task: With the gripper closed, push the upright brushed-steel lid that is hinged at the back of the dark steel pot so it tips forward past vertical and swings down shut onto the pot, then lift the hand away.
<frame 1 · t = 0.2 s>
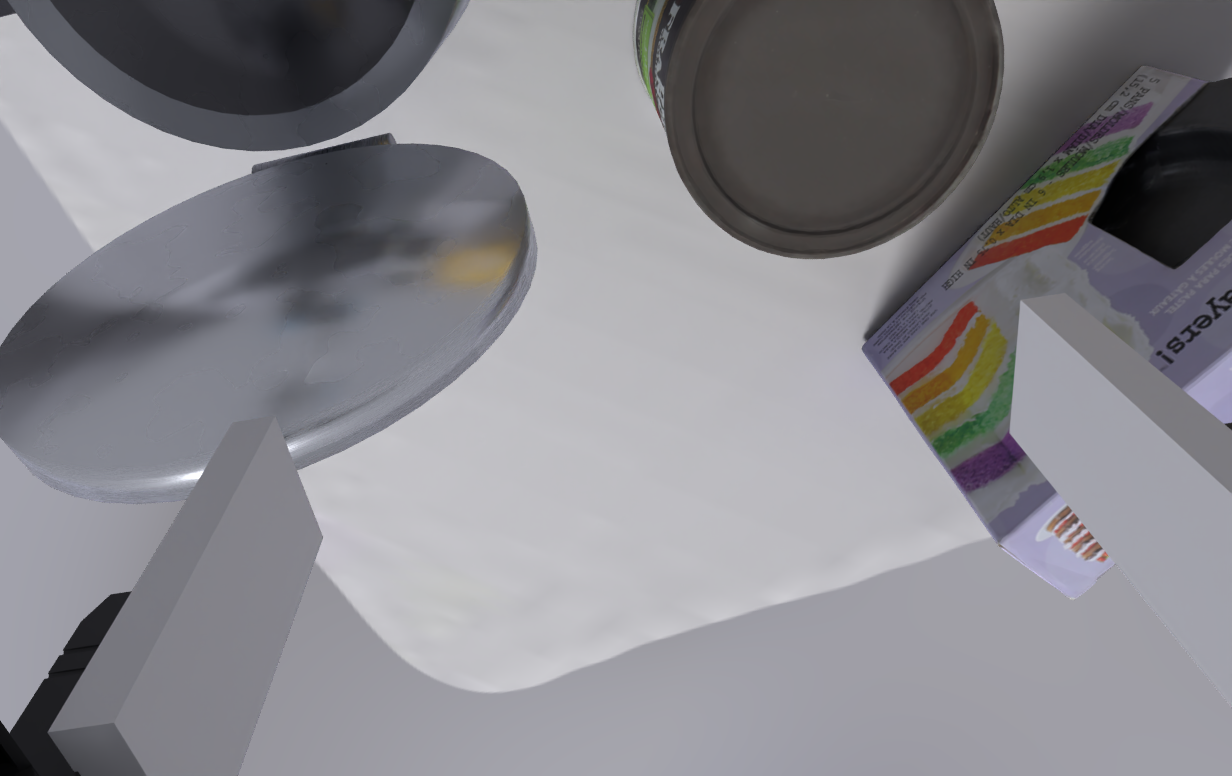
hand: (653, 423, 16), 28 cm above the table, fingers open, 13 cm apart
coffee can: (749, 32, 40), on the table
lid: (291, 323, 26), point 17 cm above the table, hinge at 100.0°
cake pan box: (1021, 226, 45), on the table
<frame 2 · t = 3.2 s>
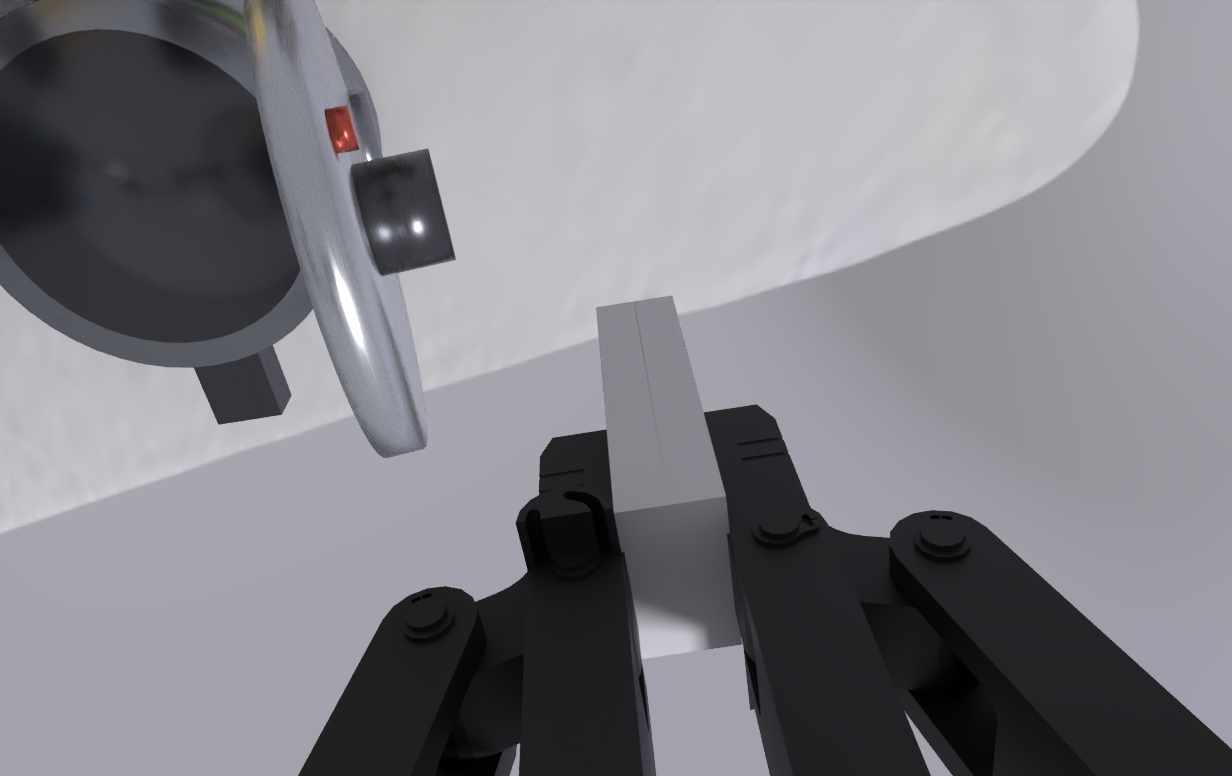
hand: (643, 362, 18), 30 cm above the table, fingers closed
pot: (225, 136, 44), on the table
lid: (386, 216, 29), point 17 cm above the table, hinge at 100.0°
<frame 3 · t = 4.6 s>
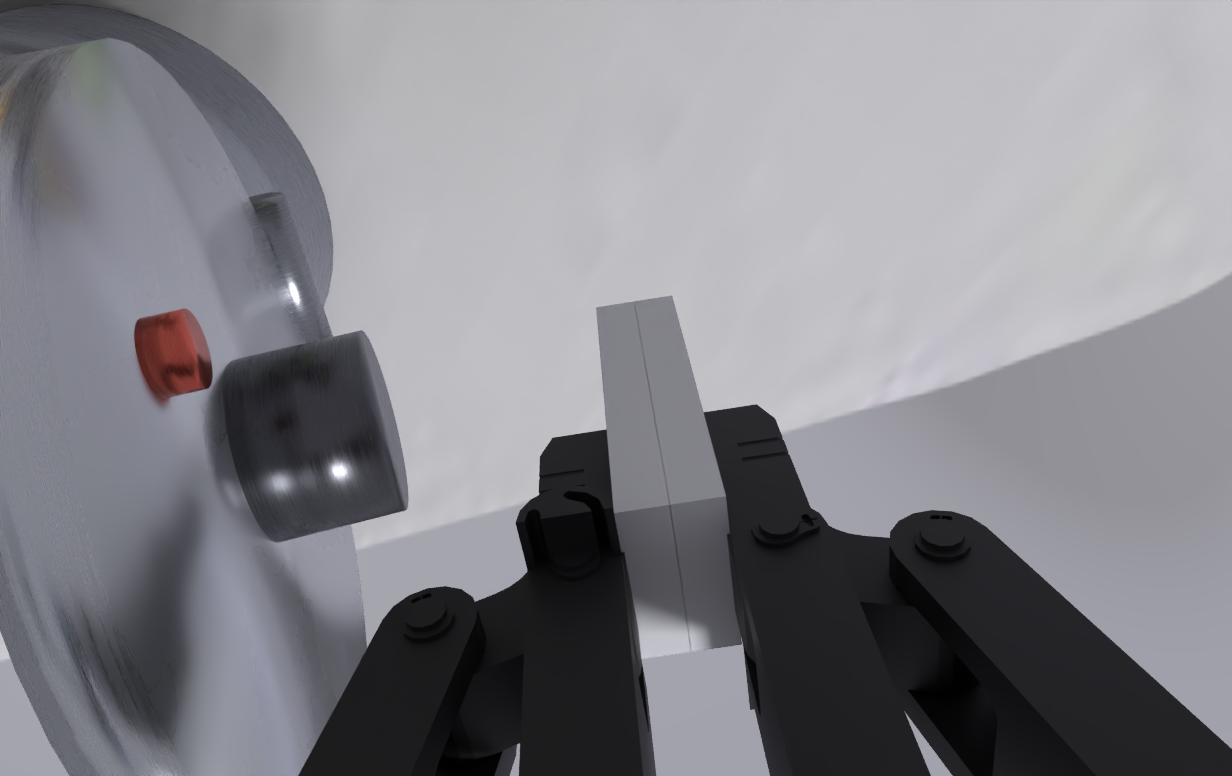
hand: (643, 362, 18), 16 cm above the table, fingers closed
pot: (121, 227, 33), on the table
lid: (291, 442, 17), point 17 cm above the table, hinge at 100.0°
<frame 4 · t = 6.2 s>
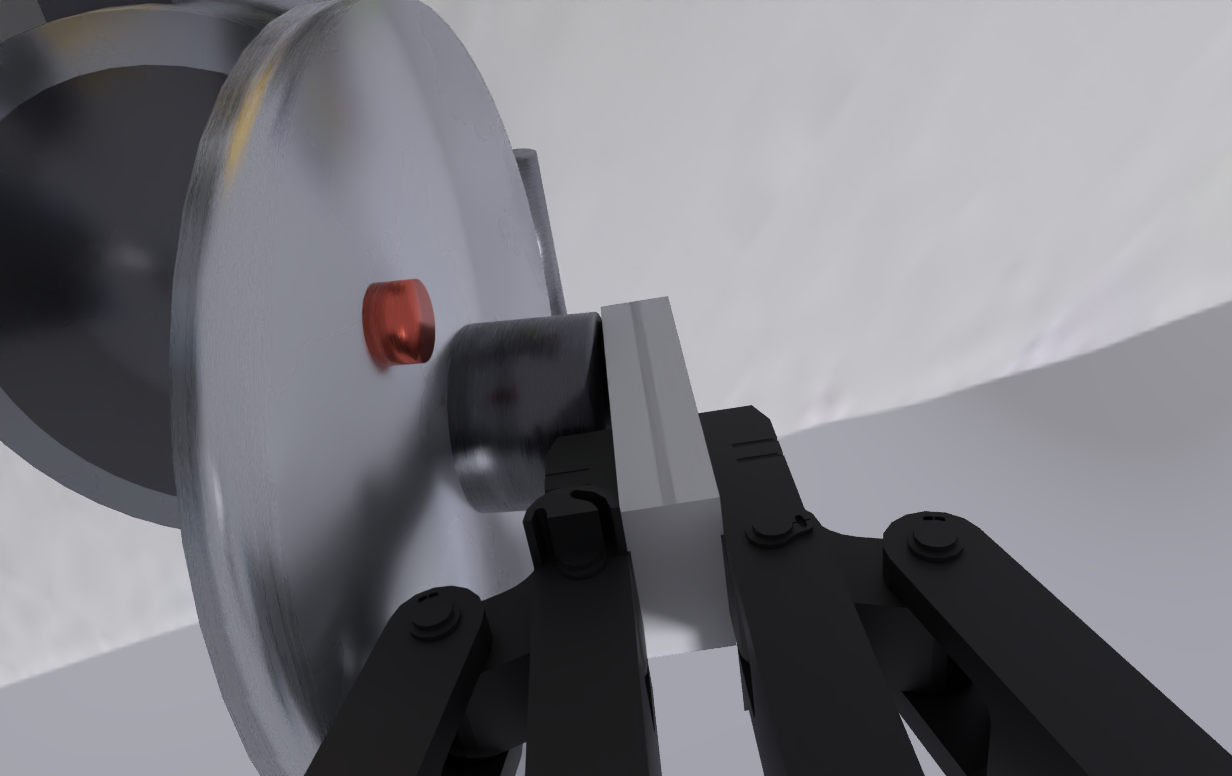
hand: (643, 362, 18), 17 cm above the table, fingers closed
pot: (295, 197, 33), on the table
lid: (510, 415, 17), point 18 cm above the table, hinge at 80.1°, touching gripper
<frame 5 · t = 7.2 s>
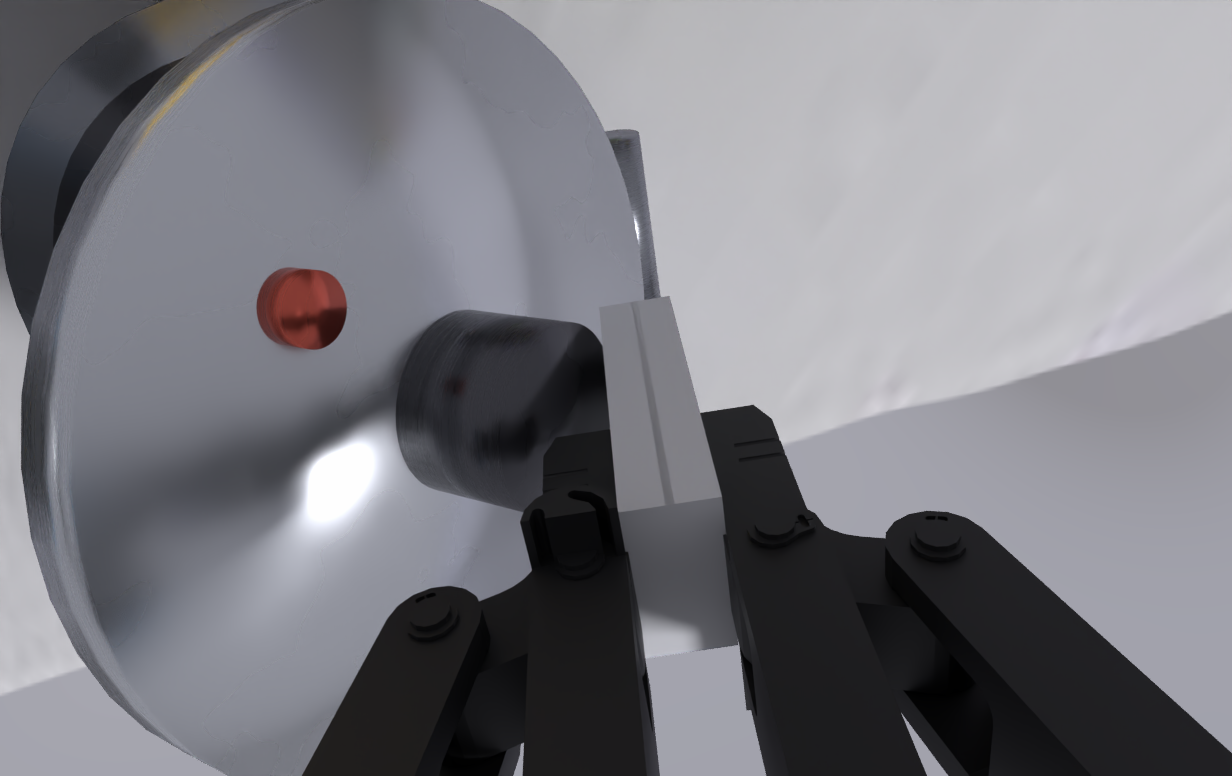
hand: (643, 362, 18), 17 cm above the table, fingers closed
pot: (369, 183, 33), on the table
lid: (484, 405, 17), point 18 cm above the table, hinge at 55.8°, touching gripper
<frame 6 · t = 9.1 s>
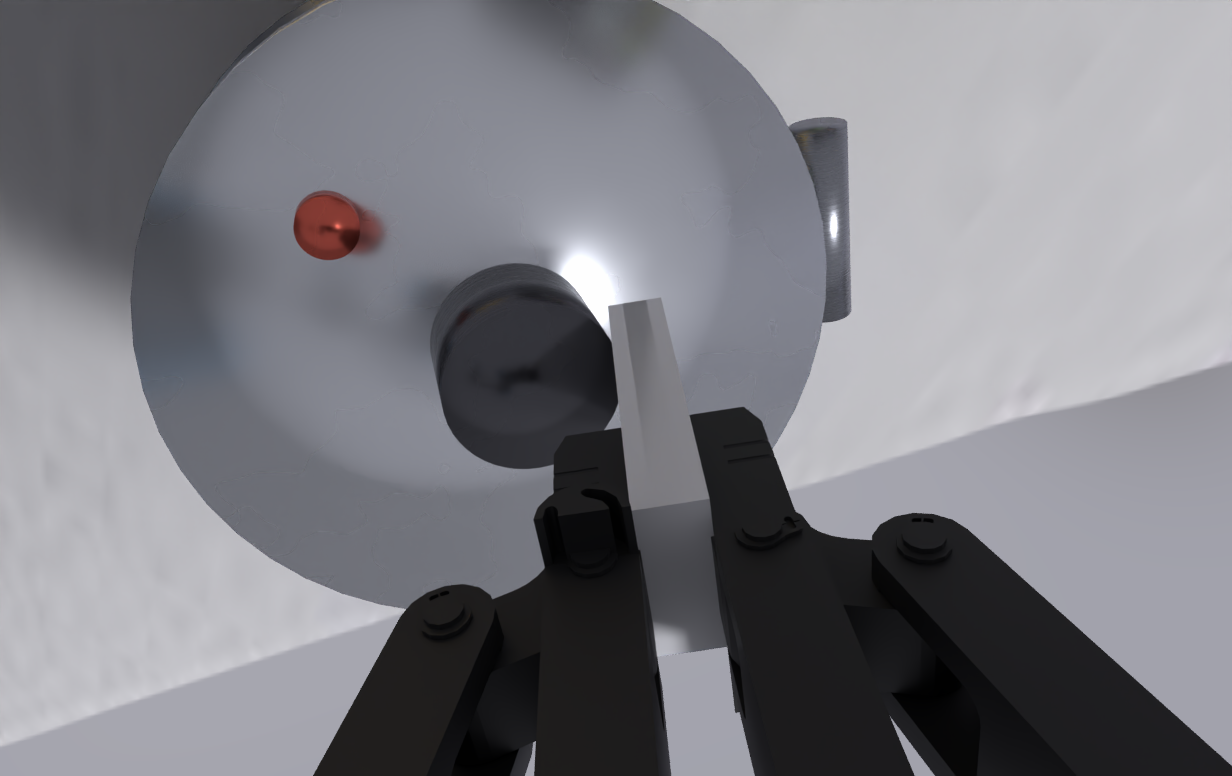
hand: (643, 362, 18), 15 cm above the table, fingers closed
pot: (500, 180, 31), on the table
lid: (518, 352, 19), point 13 cm above the table, hinge at 10.8°, touching gripper
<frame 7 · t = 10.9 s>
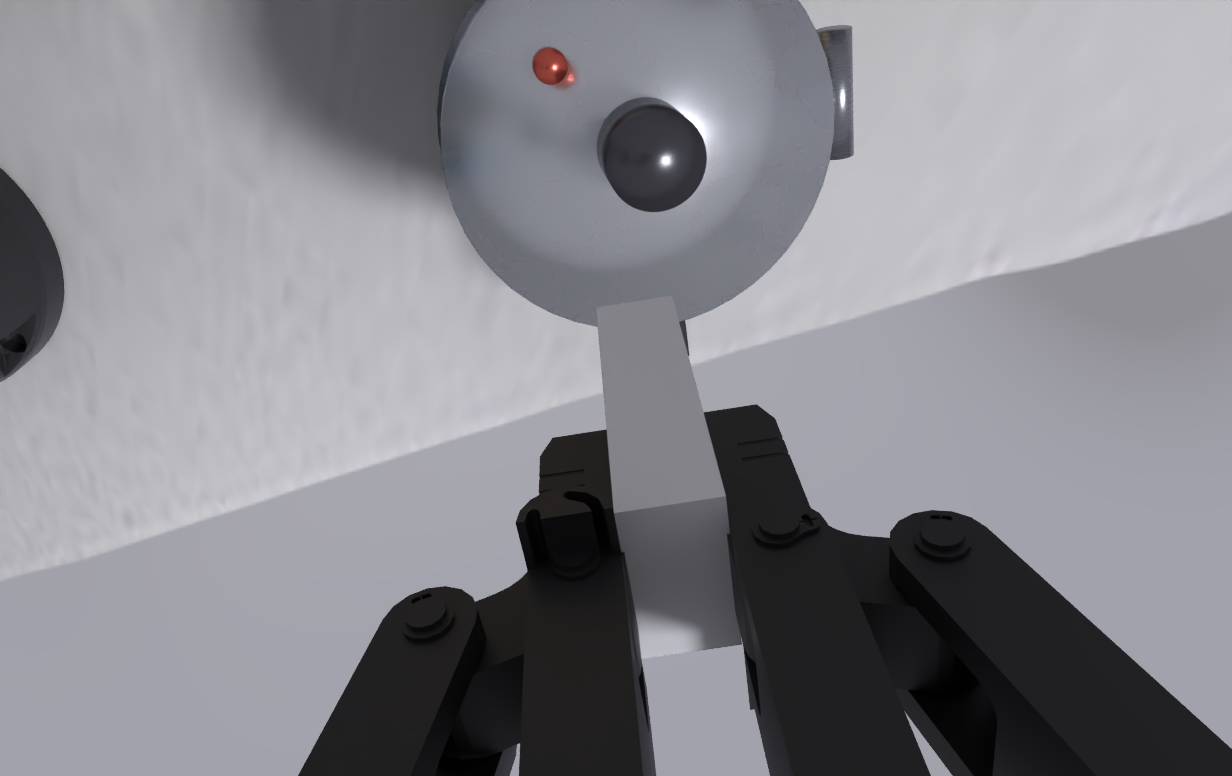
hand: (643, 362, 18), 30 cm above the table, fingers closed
pot: (617, 83, 45), on the table
lid: (647, 150, 33), point 13 cm above the table, hinge at 7.8°
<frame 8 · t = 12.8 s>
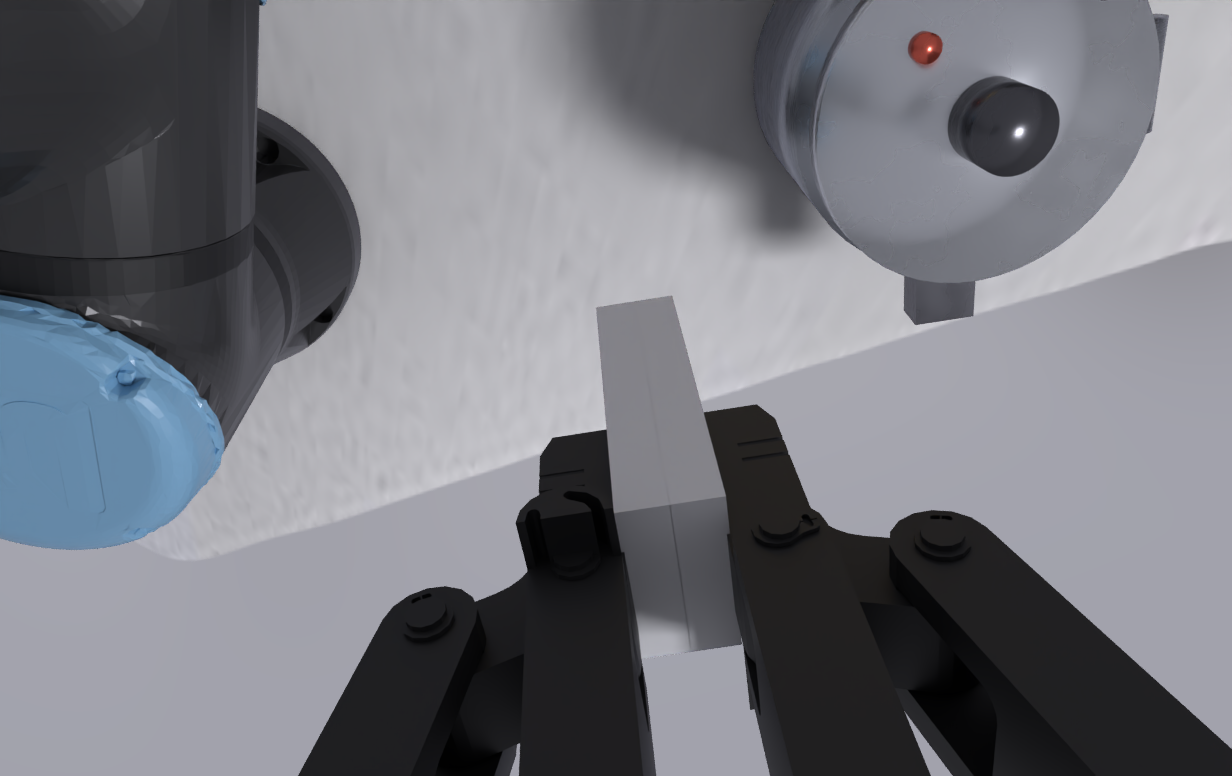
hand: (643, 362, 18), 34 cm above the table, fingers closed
pot: (890, 69, 49), on the table
lid: (995, 123, 38), point 13 cm above the table, hinge at 3.5°
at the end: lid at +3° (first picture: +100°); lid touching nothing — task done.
